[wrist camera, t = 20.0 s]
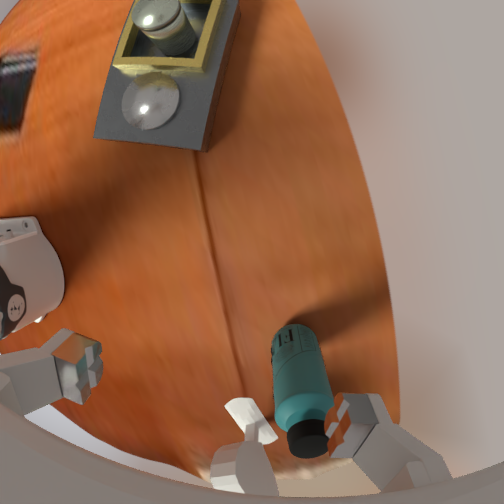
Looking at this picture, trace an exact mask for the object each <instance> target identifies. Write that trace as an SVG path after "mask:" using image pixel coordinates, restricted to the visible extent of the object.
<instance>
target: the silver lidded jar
mask: <svg viewBox="0 0 504 504" xmlns="http://www.w3.org/2000/svg"><path fill="white" fill-rule="evenodd" d="M131 17H132V21H133V23H134V24H135V25H136V26H137V27H138V28H139V29H141V30H142V32H143V33H144V34H145V35H146V36H147V37H148V38H149V39H150V40H151V41H152V42H153V43H154V44H155V45H156V46H157V48H158V49H159V50H160V51H161V52H162V53H164V54H166V55H171V56H174V55H179V54H182V53H184V52H186V51H187V50H188V49H190V48H191V47H192V45H193V44H194V41H195V38H196V34H195V31H194V29H193V27H192V25H191V23H190V21H189V19H188V17H187V16H186V14H185V12H184V10H183V8H182V6H181V3H180V1H179V0H139V1H138V2H137V3H136V5H135V6H134V8H133V10H132V16H131Z"/></svg>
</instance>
